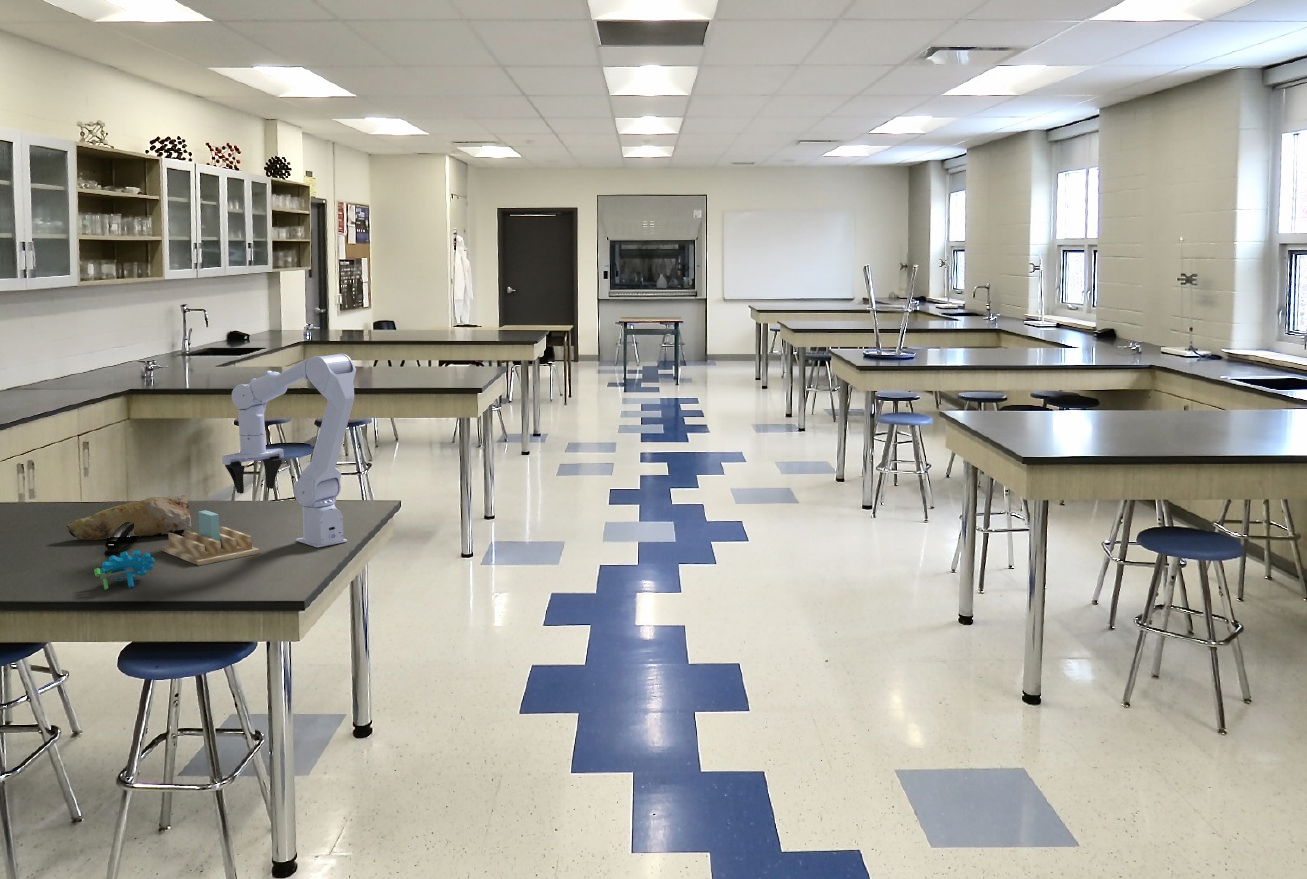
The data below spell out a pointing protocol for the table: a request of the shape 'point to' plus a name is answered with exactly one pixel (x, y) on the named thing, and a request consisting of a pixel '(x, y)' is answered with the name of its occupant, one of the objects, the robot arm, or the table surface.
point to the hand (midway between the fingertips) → (255, 490)
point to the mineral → (136, 518)
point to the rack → (210, 546)
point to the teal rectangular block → (209, 524)
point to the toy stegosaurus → (124, 567)
